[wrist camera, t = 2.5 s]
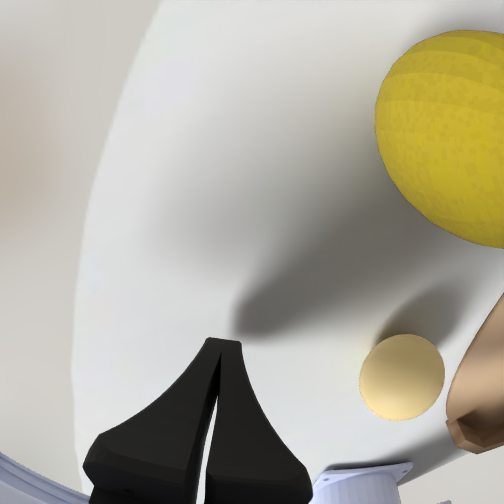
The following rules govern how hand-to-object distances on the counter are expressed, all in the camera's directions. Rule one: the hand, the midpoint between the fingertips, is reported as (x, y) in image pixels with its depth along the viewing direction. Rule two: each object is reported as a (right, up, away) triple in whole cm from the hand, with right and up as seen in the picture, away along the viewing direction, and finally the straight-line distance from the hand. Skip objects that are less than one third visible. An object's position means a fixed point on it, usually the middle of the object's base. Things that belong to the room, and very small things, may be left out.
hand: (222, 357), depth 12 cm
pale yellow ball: (+8, -1, +1) cm, 8 cm away
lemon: (+7, +9, -2) cm, 12 cm away
